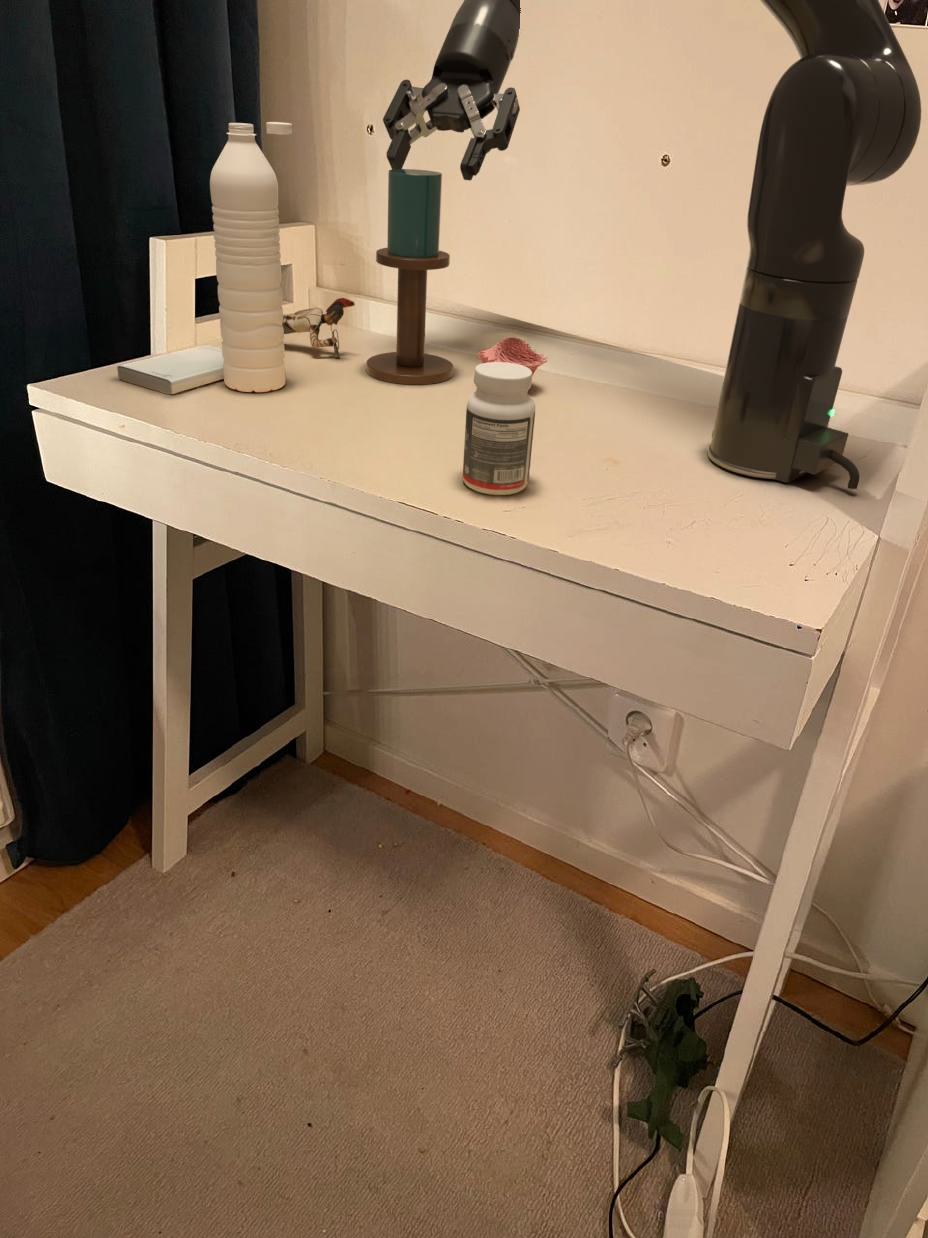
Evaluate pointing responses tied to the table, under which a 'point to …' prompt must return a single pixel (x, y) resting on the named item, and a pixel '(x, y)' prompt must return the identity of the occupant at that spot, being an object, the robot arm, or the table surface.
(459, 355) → the table surface
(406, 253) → the cylinder
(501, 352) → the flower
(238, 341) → the water bottle
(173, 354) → the hard drive
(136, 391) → the table surface
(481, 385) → the pill bottle
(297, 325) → the figurine
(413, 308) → the pedestal stand
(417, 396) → the table surface
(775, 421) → the robot arm
